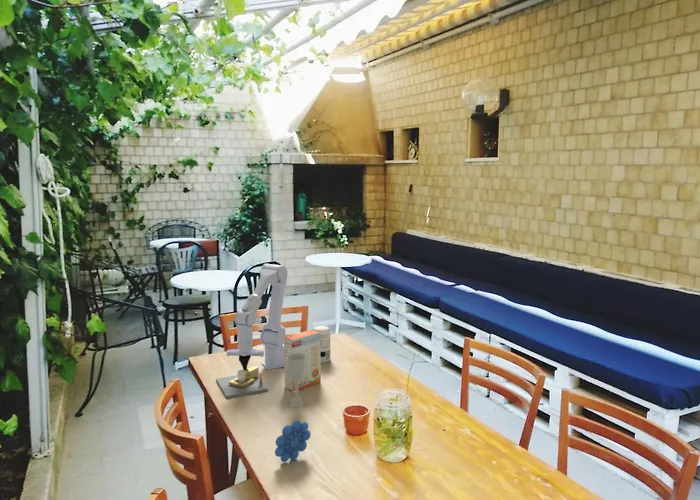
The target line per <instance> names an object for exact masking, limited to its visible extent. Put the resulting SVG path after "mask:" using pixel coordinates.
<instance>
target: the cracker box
mask: <svg viewBox="0 0 700 500" xmlns="http://www.w3.org/2000/svg"><path fill="white" fill-rule="evenodd" d="M293 353H302V354H305V355H306V357H305V369H304V373H303V375H302V377H301V380H300V381H298V386H299V387H298V390H303V389H305V388H308V387H310V386H311V387H312V386H313V385H317V384H319V383H321V382H322V381H321V377H322V375H321V374H322V373H321V369H322V368H321V364H322V363H321V360H320V332H317V331H314V330H313V329H309V330H305V331H301V332H298V333H293V334H290V335H289V334H288V335H286V336H285V337H284V367H283V368H284V388H285V389H288V390H289V391H292V392H294V391H295V387H294V386H295V381H293V380H292V378H291V376H290V373H289V370H288V359H287V356H288V355H289V354H293ZM294 393H295V392H294Z"/></svg>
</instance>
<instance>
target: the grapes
mask: <svg viewBox="0 0 700 500" xmlns="http://www.w3.org/2000/svg"><path fill="white" fill-rule="evenodd" d="M308 429H309V424H308V422H307V421H303V422H301V420H299V419H296V420H293V422H292V424H291V425H290V424H288V425H285V426H283V428H282V430H281V433H282V435H279V436H277V437H276V439H275V445H276V448H275V450H274V454H275V456H276V457H278V458H279V457H280V458H279V459H280V461H281V462H282V463H286V462H287V461H289V460H291V461H294V460H297V458H299V455H300V453H302V452H304V451H305V450H306V449H307V447H308V443H307V441H308V440H309V439H310V438H311V431H310V430H308Z"/></svg>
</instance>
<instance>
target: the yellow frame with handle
mask: <svg viewBox="0 0 700 500" xmlns="http://www.w3.org/2000/svg"><path fill="white" fill-rule="evenodd" d="M259 373H260V372H259V366H255V365H253V366H251V367H247V369H246V370H245V377H246V382H244V383H239V382H238V377H237V378H235V379H233V380H231V381H229V384H230V385H234V386H238V387H242V388H243V387H245V386H247V385H249V384H251V383H253V382H255V381H254V378H255V377H257V376H259Z"/></svg>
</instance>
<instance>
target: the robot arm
mask: <svg viewBox="0 0 700 500" xmlns="http://www.w3.org/2000/svg"><path fill="white" fill-rule="evenodd" d="M288 271H289V270H288V268H287V267H286V266H285V265H283V264H282V265H281V264H280V265H279V264H270V263H267V262H266V263H264V264H263V265H262V266H261V268H260V271H259V274H260V275H259V276H260V277H259V279H258V282H257V284H256V287H255V289H254V292H253V293H252V294H249V295H248V297H247V299H246V301H245V302H244V304H243V305H242V308H241V309H240V310H238V311H237V312H236V314H235V316H234V323H235V326H236V329H237V348H234V349H227V350H226V356H227V357H230V356H233V357H234V356H238V362H240V365H241V366H242V370H246V369H248V365H249V362H250V360H251V357H262V358H263V357H264V361H262V362H261V364H262V365H263V367H265V369H266V370H272V369H273V370H274V369H277V368H284V337H285V336H287V335H286V328H285V327H284V326H283V325H282V324H281V322H282V321H281V320H282V311H283V304H284V295H285V287H286V286H285V285H287V281H288V279H287V278H288ZM270 285H271V286H272V287H271V295H270V303H269V313H268V320H267V323H266V324H264V325H263V326H262V329H261V332H260V337H259V338H260V342H261V343H262V344H263V347H264V349H263V350H262V349H260V350H259V349H256V348H255V349H254V346H253V345H254V343H253V341H254V340H253V338H254V337H253V335H254V334H253V326H254V324H255V323H256V319H257V314H258V313H257V312H258V310H259V308H260V306H261V305H262V303H263V301H262V297H263V295H264V294H265V292H266V290H267V289H268V287H269V286H270Z"/></svg>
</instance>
